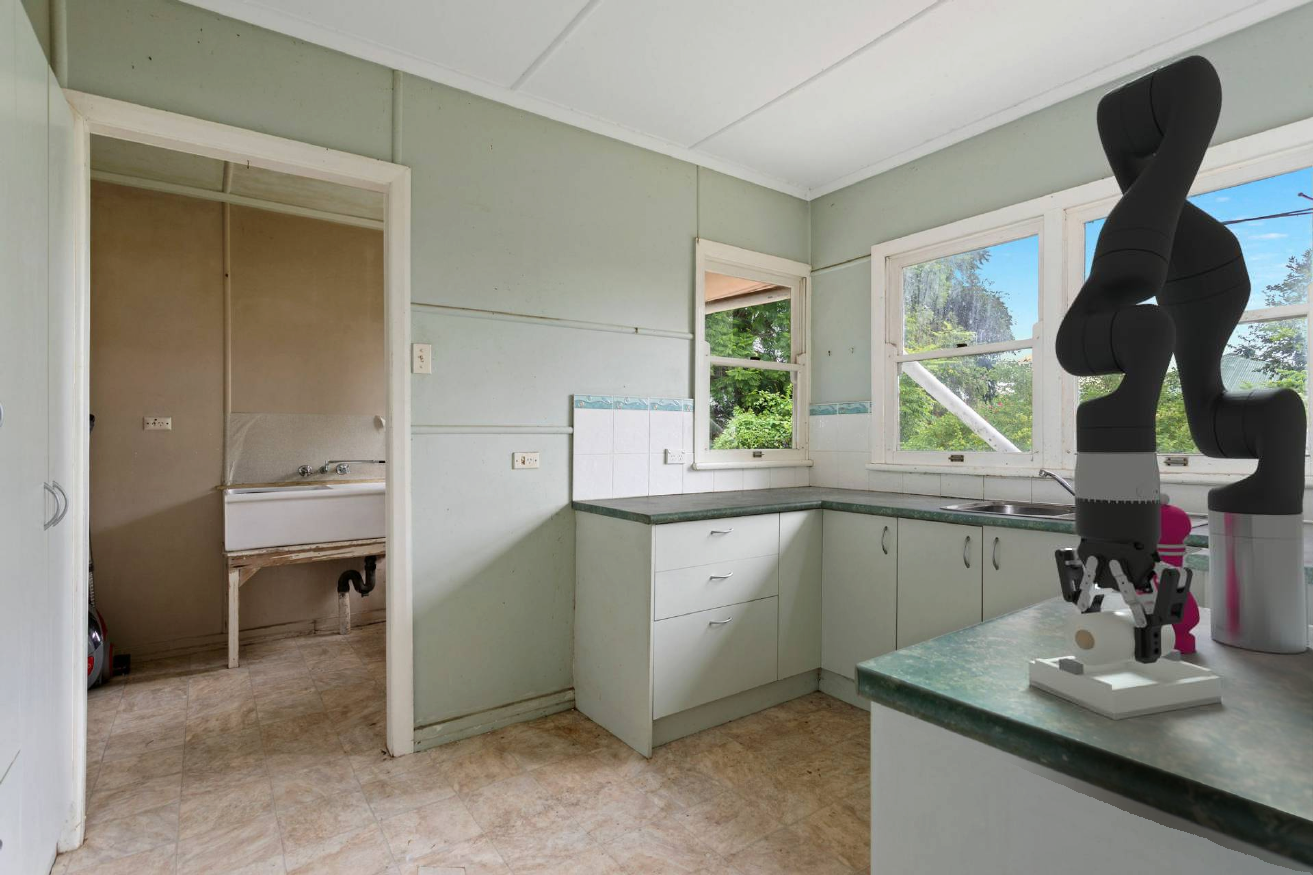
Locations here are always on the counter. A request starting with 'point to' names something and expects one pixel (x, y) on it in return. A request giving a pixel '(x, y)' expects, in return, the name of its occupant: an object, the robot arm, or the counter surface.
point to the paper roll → (1108, 637)
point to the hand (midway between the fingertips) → (1119, 653)
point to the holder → (1127, 684)
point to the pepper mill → (1172, 552)
